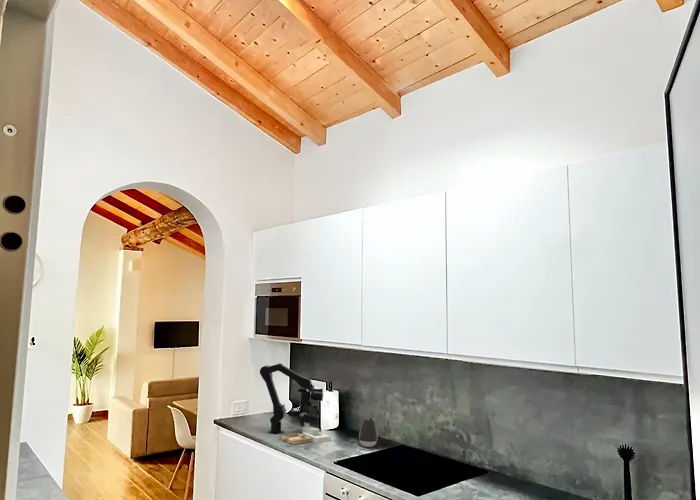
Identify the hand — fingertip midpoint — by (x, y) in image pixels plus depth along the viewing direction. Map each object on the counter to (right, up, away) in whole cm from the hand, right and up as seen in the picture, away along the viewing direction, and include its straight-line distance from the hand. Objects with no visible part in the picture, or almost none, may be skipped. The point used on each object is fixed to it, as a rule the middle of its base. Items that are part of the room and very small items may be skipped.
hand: (303, 427), depth 299 cm
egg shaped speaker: (+37, -3, -20) cm, 42 cm away
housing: (+7, -3, -9) cm, 12 cm away
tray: (-3, -2, -15) cm, 16 cm away
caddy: (+4, -3, -5) cm, 7 cm away
